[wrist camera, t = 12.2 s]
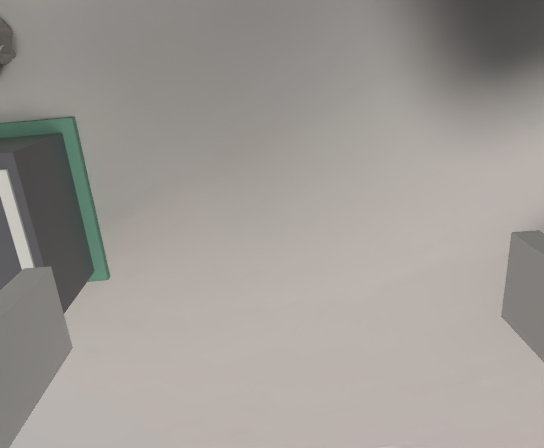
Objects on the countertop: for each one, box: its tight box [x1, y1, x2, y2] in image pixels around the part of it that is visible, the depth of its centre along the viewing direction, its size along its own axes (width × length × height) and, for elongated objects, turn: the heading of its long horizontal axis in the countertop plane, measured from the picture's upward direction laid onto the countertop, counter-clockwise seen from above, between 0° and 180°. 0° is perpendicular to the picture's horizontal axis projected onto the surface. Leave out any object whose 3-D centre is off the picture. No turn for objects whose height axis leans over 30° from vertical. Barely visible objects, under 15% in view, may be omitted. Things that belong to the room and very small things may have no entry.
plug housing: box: [0, 133, 95, 313], centre depth 34 cm, size 12×6×8 cm, turn 5°
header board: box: [0, 117, 110, 282], centre depth 36 cm, size 14×8×6 cm, turn 5°
